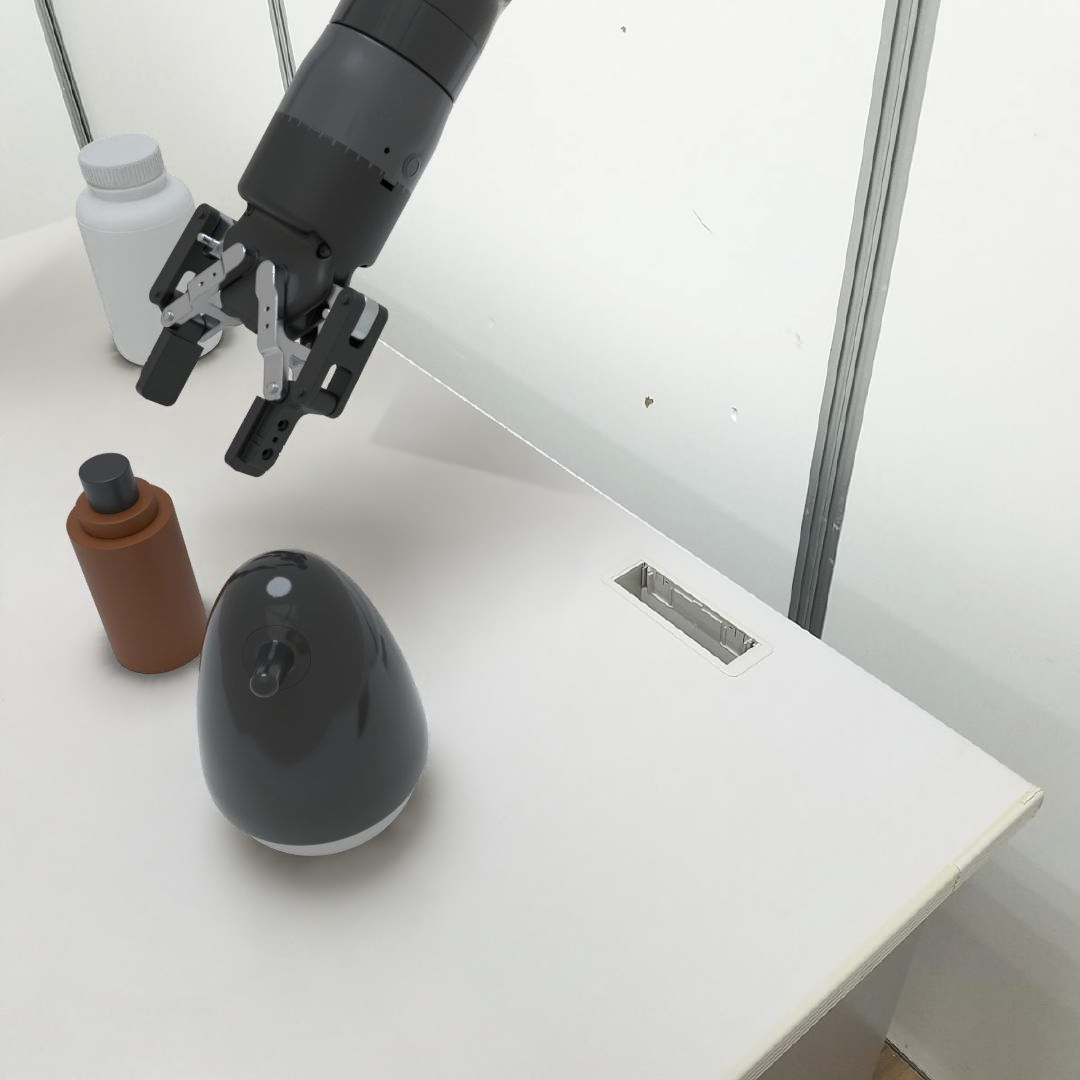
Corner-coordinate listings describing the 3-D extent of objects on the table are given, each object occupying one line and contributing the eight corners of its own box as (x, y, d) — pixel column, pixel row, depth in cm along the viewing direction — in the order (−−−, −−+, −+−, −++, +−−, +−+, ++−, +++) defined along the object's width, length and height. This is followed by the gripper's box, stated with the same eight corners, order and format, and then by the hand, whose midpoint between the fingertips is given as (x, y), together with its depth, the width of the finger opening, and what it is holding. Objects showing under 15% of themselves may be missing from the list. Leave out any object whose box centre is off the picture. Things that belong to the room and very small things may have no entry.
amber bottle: (93, 658, 62) (23, 486, 54) (151, 595, 66) (94, 426, 58) (173, 684, 61) (113, 512, 53) (228, 618, 64) (180, 448, 56)
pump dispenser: (203, 901, 51) (113, 674, 41) (239, 719, 59) (171, 490, 49) (432, 891, 51) (398, 662, 41) (437, 710, 59) (411, 481, 49)
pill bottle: (96, 363, 84) (33, 167, 74) (149, 308, 90) (97, 120, 80) (195, 376, 83) (144, 178, 73) (242, 320, 88) (201, 129, 78)
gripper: (212, 72, 57) (65, 357, 59) (389, 153, 49) (215, 478, 51) (314, 144, 63) (179, 400, 65) (486, 227, 56) (328, 514, 57)
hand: (195, 434), depth 58 cm, fingers open, 8 cm apart
